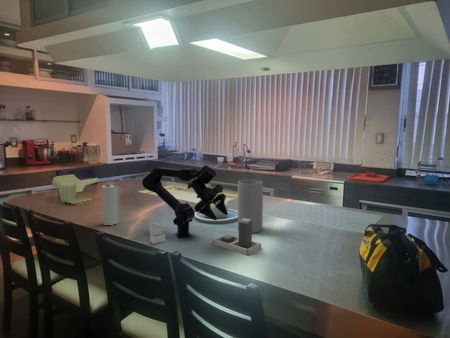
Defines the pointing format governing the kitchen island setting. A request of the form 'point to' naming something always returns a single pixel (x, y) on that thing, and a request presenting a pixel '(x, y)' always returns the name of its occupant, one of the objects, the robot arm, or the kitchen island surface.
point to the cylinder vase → (251, 202)
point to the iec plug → (245, 233)
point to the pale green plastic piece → (71, 187)
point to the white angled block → (156, 233)
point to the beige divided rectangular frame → (235, 244)
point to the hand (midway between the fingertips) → (221, 217)
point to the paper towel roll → (110, 204)
